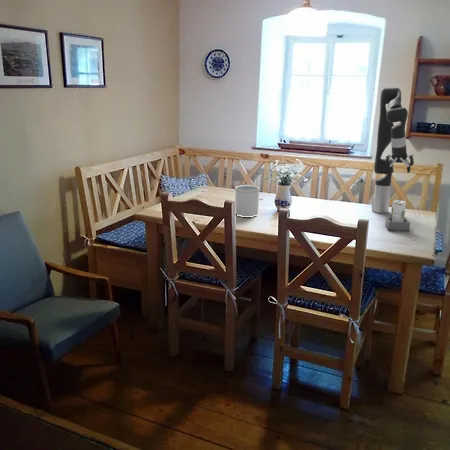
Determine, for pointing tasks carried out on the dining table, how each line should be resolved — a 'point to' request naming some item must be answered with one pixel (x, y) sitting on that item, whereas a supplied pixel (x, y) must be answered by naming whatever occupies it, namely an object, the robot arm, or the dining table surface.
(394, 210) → the syrup box
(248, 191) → the utensil holder
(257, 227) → the dining table surface
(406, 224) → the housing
